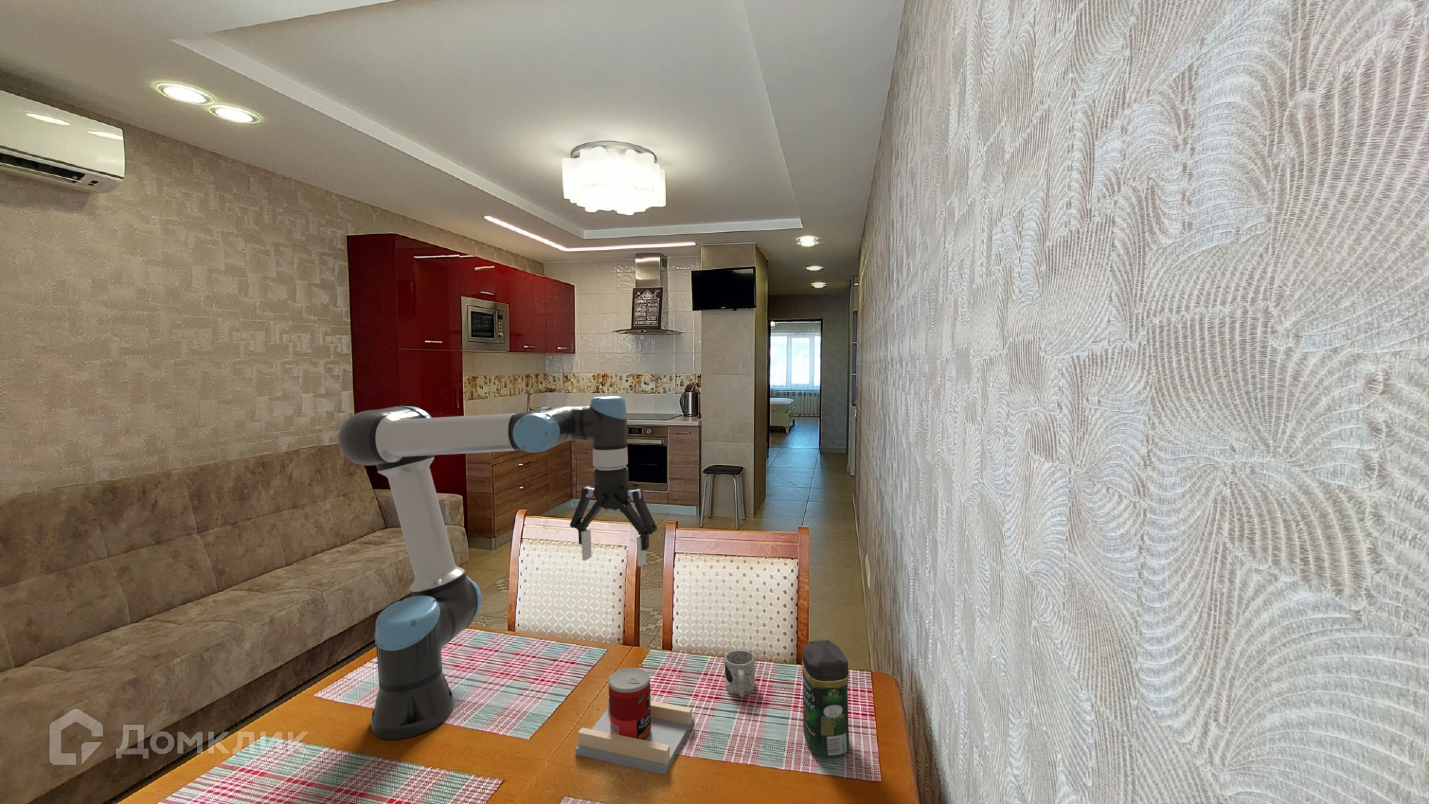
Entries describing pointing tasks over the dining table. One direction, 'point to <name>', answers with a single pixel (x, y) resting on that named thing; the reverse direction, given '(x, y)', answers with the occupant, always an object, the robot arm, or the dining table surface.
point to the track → (641, 754)
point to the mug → (739, 672)
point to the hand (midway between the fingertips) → (614, 561)
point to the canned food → (630, 703)
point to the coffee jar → (825, 698)
